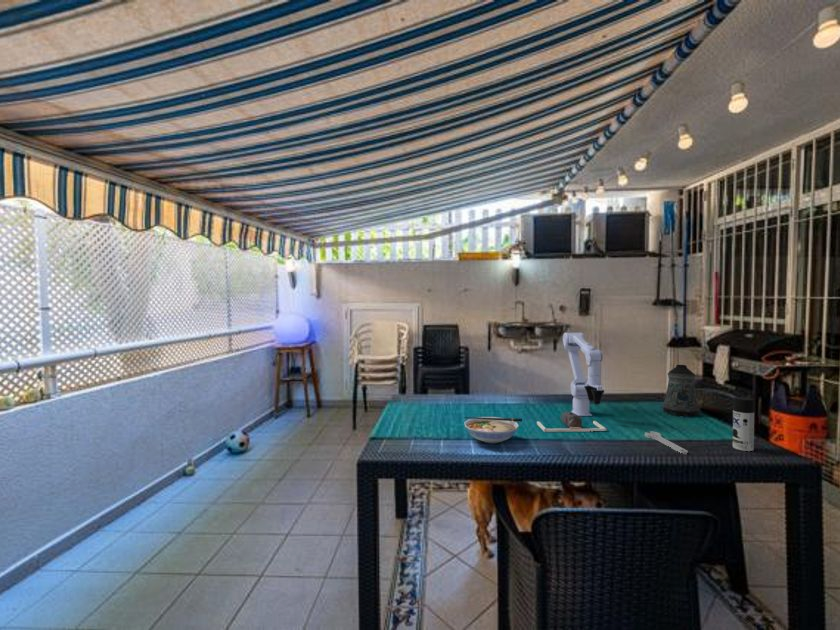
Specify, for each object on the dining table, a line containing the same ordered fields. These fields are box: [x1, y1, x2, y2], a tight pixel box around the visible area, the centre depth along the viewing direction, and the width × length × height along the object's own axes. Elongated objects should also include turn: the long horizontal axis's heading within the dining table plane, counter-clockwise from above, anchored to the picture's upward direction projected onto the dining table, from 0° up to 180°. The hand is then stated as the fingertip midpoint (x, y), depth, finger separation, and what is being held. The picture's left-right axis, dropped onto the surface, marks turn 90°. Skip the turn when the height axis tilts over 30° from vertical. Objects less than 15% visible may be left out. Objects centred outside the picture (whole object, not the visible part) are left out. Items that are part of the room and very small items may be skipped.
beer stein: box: [662, 364, 701, 418], centre depth 221 cm, size 16×19×25 cm
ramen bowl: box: [464, 416, 523, 445], centre depth 178 cm, size 25×23×8 cm
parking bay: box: [536, 420, 608, 433], centre depth 197 cm, size 13×28×2 cm, turn 89°
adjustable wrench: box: [644, 430, 689, 455], centre depth 173 cm, size 25×6×2 cm, turn 177°
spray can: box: [732, 396, 755, 453], centre depth 165 cm, size 7×7×20 cm
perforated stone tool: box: [560, 411, 583, 428], centre depth 198 cm, size 15×5×7 cm, turn 7°
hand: (594, 402), depth 206 cm, fingers open, 7 cm apart
